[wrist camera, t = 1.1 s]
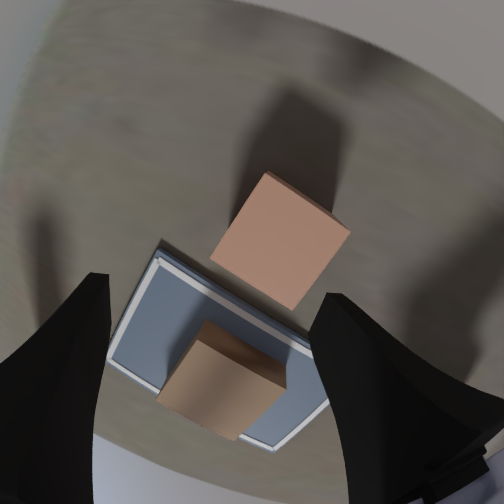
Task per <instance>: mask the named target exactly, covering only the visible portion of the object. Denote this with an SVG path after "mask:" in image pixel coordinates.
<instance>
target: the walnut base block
mask: <svg viewBox="0 0 504 504" xmlns="http://www.w3.org/2000/svg"><path fill="white" fill-rule="evenodd" d="M286 390H287V381H286V365H285V364H283V363H281V362H279V361H277V360H276V359H274V358H272V357H270V356H268V355H267V354H265V353H263V352H261V351H260V350H258V349H256V348H254V347H253V346H251V345H249V344H248V343H246V342H244V341H242V340H241V339H239V338H237V337H236V336H234V335H232V334H231V333H229V332H227V331H226V330H224V329H222V328H221V327H219V326H217V325H216V324H214V323H213V322H211V321H209V320H208V319H206V320H205V322H204V323H203V325H202V326H201V328H200V329H199V330H198V332H197V333H196V335H195V336H194V338H193V339H192V341H191V342H190V344H189V345H188V347H187V348H186V350H185V351H184V353H183V354H182V356H181V357H180V358H179V360H178V361H177V363H176V364H175V366H174V367H173V369H172V370H171V372H170V373H169V375H168V376H167V378H166V380H165V382H164V384H163V386H162V388H161V390H160V392H159V394H158V396H157V398H156V401H158V402H159V403H161V404H163V405H165V406H166V407H168V408H170V409H172V410H173V411H175V412H177V413H179V414H181V415H182V416H184V417H186V418H188V419H190V420H192V421H194V422H196V423H198V424H199V425H201V426H203V427H205V428H207V429H209V430H211V431H213V432H215V433H217V434H220V435H222V436H224V437H226V438H228V439H230V440H232V441H235V440H236V439H237V438H238V437H239V436H240V435H241V434H242V433H243V432H244V431H245V430H247V429H248V428H249V427H250V426H251V425H252V424H253V423H254V422H255V421H256V420H257V419H258V418H259V417H260V416H261V415H262V414H263V413H264V412H265V411H266V410H267V409H268V408H269V407H270V406H271V405H272V404H273V403H274V402H275V401H276V400H277V399H278V398H279V397H280V396H281V395H282V394H283V393H284V392H285V391H286Z"/></svg>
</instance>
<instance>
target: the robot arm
mask: <svg viewBox="0 0 504 504" xmlns="http://www.w3.org/2000/svg"><path fill="white" fill-rule="evenodd" d="M111 324H112V322H111V307H110V288H109V274H100V273H92V272H90V273H89V274H88V275H87V276H86V277H85V278H84V279H83V281H82V282H81V283H80V284H79V285H78V287H77V288H76V289H75V290H74V291H73V292H72V293H71V295H70V296H69V297H68V298H67V299H66V300H65V301H64V303H63V304H62V305H61V306H60V307H59V308H58V309H57V310H56V311H55V313H54V314H53V315H52V316H51V317H50V318H49V319H48V320H47V321H46V322H45V323H44V324H43V325H42V326H41V327H40V328H39V329H38V330H37V331H36V332H35V333H34V334H33V335H32V336H31V337H30V338H29V339H28V340H27V341H26V342H25V343H24V344H23V345H22V346H21V347H19V348H18V349H17V350H16V351H15V352H14V353H13V354H11V355H10V356H9V357H8V358H7V359H5V360H4V361H3V362H2V363H0V504H94V502H93V483H92V445H93V426H94V416H95V409H96V403H97V398H98V393H99V389H100V384H101V379H102V375H103V370H104V366H105V361H106V357H107V353H108V347H109V339H110V331H111ZM308 338H309V343H310V348H311V352H312V356H313V360H314V362H315V365H316V368H317V371H318V373H319V376H320V379H321V381H322V384H323V386H324V389H325V392H326V394H327V397H328V400H329V402H330V405H331V407H332V410H333V413H334V416H335V420H336V423H337V428H338V432H339V436H340V440H341V445H342V450H343V456H344V461H345V468H346V475H347V483H348V495H349V504H504V448H503V449H501V450H500V451H498V452H497V453H495V454H494V455H492V456H491V457H489V458H488V459H487V460H486V459H485V457H484V456H483V455H484V454H486V452H487V450H486V448H485V446H484V445H485V444H486V443H487V442H488V441H490V440H491V439H492V438H493V437H494V436H495V435H496V434H498V433H499V432H500V431H501V430H502V429H503V428H504V399H502V398H500V397H497V396H494V395H491V394H488V393H485V392H482V391H480V390H478V389H475V388H473V387H471V386H469V385H466V384H464V383H462V382H460V381H458V380H456V379H454V378H453V377H451V376H449V375H447V374H445V373H444V372H442V371H440V370H439V369H437V368H435V367H434V366H432V365H431V364H429V363H428V362H426V361H425V360H423V359H422V358H420V357H419V356H417V355H416V354H415V353H413V352H412V351H411V350H409V349H408V348H407V347H405V346H404V345H403V344H402V343H400V342H399V341H398V340H397V339H395V338H394V337H393V336H392V335H391V334H389V333H388V332H387V331H386V330H385V329H384V328H382V327H381V326H380V325H379V324H378V323H377V322H375V321H374V320H373V319H372V318H371V317H370V316H369V315H367V314H366V313H365V312H364V311H363V310H362V309H361V308H359V307H358V306H357V305H356V304H355V303H353V302H352V301H351V300H350V299H348V298H347V297H346V296H344V295H343V294H342V293H326V295H325V298H324V300H323V302H322V304H321V307H320V309H319V311H318V313H317V315H316V318H315V320H314V322H313V324H312V326H311V328H310V331H309V333H308Z"/></svg>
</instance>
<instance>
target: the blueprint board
mask: <svg viewBox="0 0 504 504" xmlns="http://www.w3.org/2000/svg"><path fill="white" fill-rule="evenodd" d="M206 319H208V320H209V321H211V322H213V323H214V324H216V325H217V326H219V327H221V328H222V329H224V330H226V331H227V332H229V333H231V334H232V335H234V336H236V337H237V338H239V339H241V340H242V341H244V342H246V343H248V344H249V345H251V346H253V347H254V348H256V349H258V350H260V351H261V352H263V353H265V354H267V355H268V356H270V357H272V358H274V359H276V360H277V361H279V362H281V363H283V364H285V365H286V381H287V390H286V391H285V392H284V393H283V394H282V395H281V396H280V397H279V398H278V399H277V400H276V401H275V402H274V403H273V404H272V405H271V406H270V407H269V408H268V409H267V410H266V411H265V412H264V413H263V414H262V415H261V416H260V417H259V418H258V419H257V420H256V421H255V422H254V423H253V424H252V425H251V426H250V427H249V428H248V429H247V430H245V431H244V432H243V433H242V434H241V435H240V436H239V437H238V438H239V439H241V440H243V441H246V442H248V443H250V444H252V445H255V446H257V447H259V448H262V449H264V450H266V451H269V452H271V453H275V452H276V451H277V450H278V449H279V448H281V447H282V446H283V445H284V444H286V443H287V442H288V441H289V440H290V439H291V438H293V437H294V436H295V435H296V434H297V433H298V432H300V431H301V430H302V429H303V428H304V427H305V426H306V425H308V424H309V423H310V422H311V421H312V420H313V419H314V418H315V417H316V416H317V415H319V414H320V413H321V412H322V411H323V410H324V409H325V408H326V407H327V406H328V405H329V404H330V402H329V400H328V397H327V394H326V392H325V389H324V386H323V384H322V381H321V379H320V376H319V373H318V371H317V368H316V365H315V362H314V360H313V356H312V352H311V348H310V343H309V340H308V339H306V338H304V337H302V336H301V335H299V334H297V333H296V332H294V331H292V330H291V329H289V328H287V327H286V326H284V325H282V324H281V323H279V322H277V321H276V320H274V319H272V318H271V317H269V316H267V315H266V314H264V313H262V312H261V311H259V310H258V309H256V308H254V307H253V306H251V305H249V304H248V303H246V302H245V301H243V300H241V299H240V298H238V297H237V296H235V295H233V294H232V293H230V292H229V291H227V290H225V289H224V288H222V287H221V286H219V285H218V284H216V283H214V282H213V281H211V280H210V279H208V278H207V277H205V276H203V275H202V274H200V273H199V272H197V271H196V270H194V269H193V268H191V267H190V266H188V265H186V264H185V263H183V262H182V261H180V260H179V259H177V258H176V257H174V256H173V255H171V254H170V253H168V252H167V251H165V250H164V249H162V248H161V247H160V248H159V249H157V251H156V253H155V255H154V257H153V259H152V261H151V262H150V264H149V266H148V268H147V270H146V272H145V274H144V276H143V278H142V279H141V281H140V283H139V285H138V287H137V289H136V291H135V293H134V295H133V297H132V299H131V301H130V303H129V305H128V307H127V309H126V311H125V313H124V315H123V317H122V319H121V321H120V323H119V325H118V328H117V330H116V332H115V334H114V336H113V338H112V340H111V342H110V345H109V347H108V353H107V357H106V361H105V362H106V363H107V364H109V365H110V366H112V367H113V368H115V369H116V370H118V371H119V372H121V373H122V374H124V375H125V376H127V377H128V378H130V379H131V380H133V381H134V382H136V383H138V384H139V385H141V386H142V387H144V388H146V389H147V390H149V391H150V392H152V393H154V394H155V395H157V396H158V394H159V392H160V390H161V388H162V386H163V384H164V382H165V380H166V378H167V376H168V375H169V373H170V372H171V370H172V369H173V367H174V366H175V364H176V363H177V361H178V360H179V358H180V357H181V356H182V354H183V353H184V351H185V350H186V348H187V347H188V345H189V344H190V342H191V341H192V339H193V338H194V336H195V335H196V333H197V332H198V330H199V329H200V328H201V326H202V325H203V323H204V322H205V320H206Z"/></svg>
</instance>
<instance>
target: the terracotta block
mask: <svg viewBox="0 0 504 504" xmlns="http://www.w3.org/2000/svg"><path fill="white" fill-rule="evenodd" d="M350 233H351V232H350V231H349V230H348V229H347V228H346V227H345V226H344V225H343V224H342V223H341V222H340V221H339V220H338V219H337V218H336V217H335V216H334V215H333V214H332V213H330V212H329V211H327V210H326V209H325V208H323V207H322V206H320V205H319V204H317V203H316V202H315V201H313V200H312V199H310V198H309V197H307V196H306V195H304V194H303V193H301V192H300V191H298V190H297V189H295V188H294V187H293V186H291V185H290V184H288V183H287V182H285V181H284V180H282V179H281V178H279V177H278V176H276V175H274V174H273V173H271V172H270V171H267V172H266V173H265V174H264V175H263V177H262V178H261V180H260V181H259V183H258V184H257V186H256V187H255V189H254V190H253V192H252V193H251V195H250V196H249V198H248V199H247V201H246V202H245V204H244V205H243V207H242V209H241V210H240V212H239V213H238V215H237V216H236V218H235V219H234V221H233V222H232V224H231V226H230V227H229V229H228V230H227V232H226V233H225V235H224V236H223V238H222V240H221V241H220V243H219V244H218V246H217V247H216V249H215V251H214V252H213V254H212V255H211V257H210V259H211V260H213V261H214V262H216V263H217V264H219V265H221V266H222V267H224V268H225V269H227V270H228V271H230V272H232V273H233V274H235V275H236V276H238V277H239V278H241V279H243V280H244V281H246V282H247V283H249V284H250V285H252V286H254V287H255V288H257V289H258V290H260V291H261V292H263V293H265V294H266V295H268V296H269V297H271V298H273V299H274V300H276V301H277V302H279V303H281V304H282V305H284V306H285V307H287V308H289V309H290V310H293V309H294V308H295V306H296V305H297V304H298V303H299V301H300V300H301V299H302V297H303V296H304V295H305V293H306V292H307V291H308V290H309V288H310V287H311V286H312V284H313V283H314V282H315V280H316V279H317V278H318V276H319V275H320V274H321V272H322V271H323V270H324V268H325V267H326V266H327V264H328V263H329V262H330V260H331V259H332V257H333V256H334V255H335V253H336V252H337V251H338V249H339V248H340V246H341V245H342V244H343V242H344V241H345V240H346V238H347V237H348V235H349V234H350Z"/></svg>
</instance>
